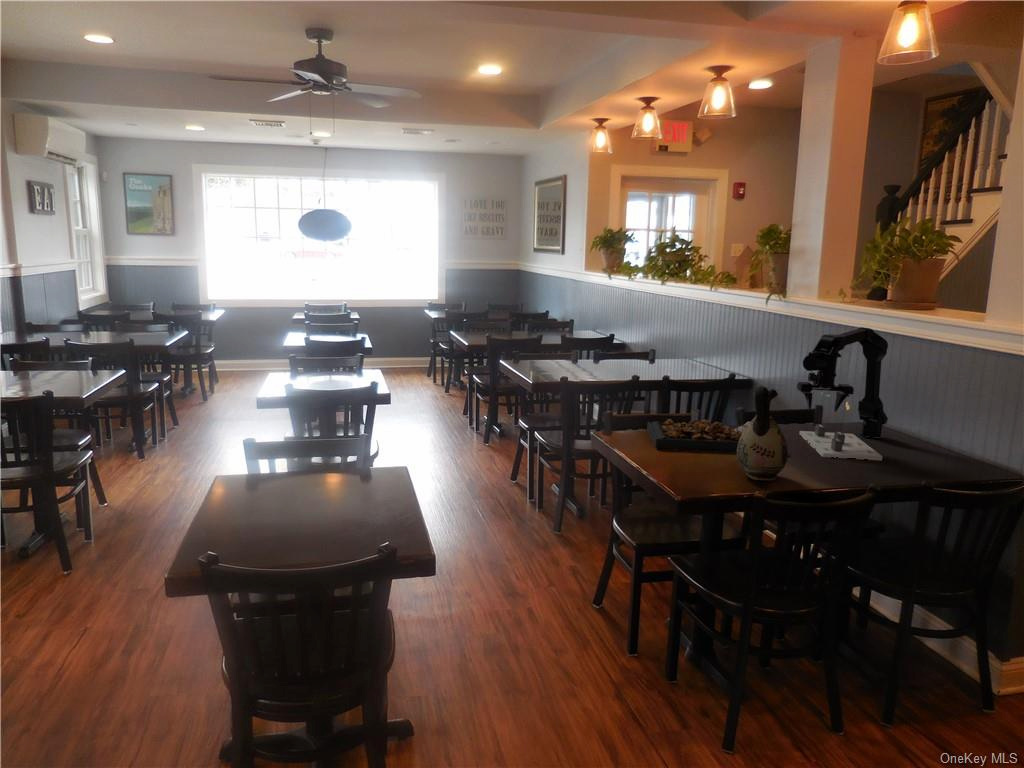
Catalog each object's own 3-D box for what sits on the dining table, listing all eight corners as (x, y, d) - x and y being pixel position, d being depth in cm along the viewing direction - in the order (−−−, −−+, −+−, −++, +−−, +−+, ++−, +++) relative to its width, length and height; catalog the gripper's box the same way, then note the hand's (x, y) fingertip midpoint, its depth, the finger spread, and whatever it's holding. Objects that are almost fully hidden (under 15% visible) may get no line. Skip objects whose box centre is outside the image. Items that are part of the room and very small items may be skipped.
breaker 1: (821, 433, 279) (822, 424, 278) (824, 436, 275) (825, 427, 274) (814, 433, 279) (815, 424, 278) (817, 435, 275) (818, 426, 274)
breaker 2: (838, 448, 259) (839, 438, 258) (841, 451, 255) (843, 441, 254) (830, 447, 259) (832, 438, 259) (834, 450, 255) (835, 441, 255)
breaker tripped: (840, 441, 268) (841, 431, 268) (844, 444, 264) (845, 434, 264) (833, 440, 269) (834, 431, 268) (837, 443, 265) (838, 434, 264)
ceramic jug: (745, 466, 240) (753, 378, 234) (791, 476, 231) (802, 385, 225) (724, 478, 227) (733, 385, 221) (773, 489, 218) (783, 393, 212)
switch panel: (852, 437, 280) (852, 433, 280) (881, 460, 251) (882, 456, 251) (799, 434, 283) (799, 430, 282) (822, 456, 253) (823, 452, 253)
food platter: (762, 437, 279) (765, 412, 277) (782, 456, 255) (785, 428, 253) (646, 432, 281) (648, 407, 279) (655, 450, 257) (657, 423, 255)
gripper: (846, 367, 270) (841, 407, 273) (795, 364, 272) (790, 404, 275) (856, 372, 259) (851, 414, 262) (803, 369, 261) (798, 411, 264)
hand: (822, 410), depth 266 cm, fingers open, 9 cm apart
